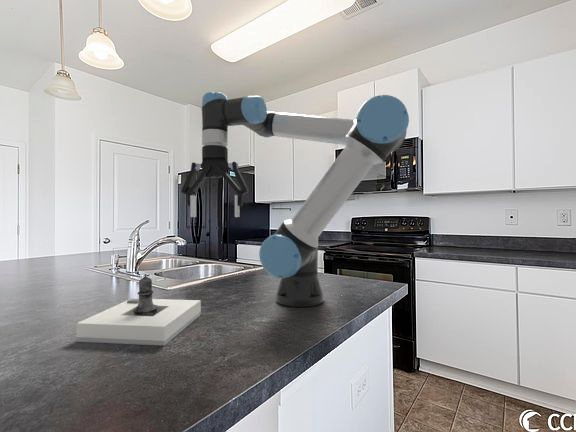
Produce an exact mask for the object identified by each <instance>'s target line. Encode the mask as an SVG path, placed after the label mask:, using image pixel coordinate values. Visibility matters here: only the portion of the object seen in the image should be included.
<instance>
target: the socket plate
mask: <svg viewBox="0 0 576 432" xmlns="http://www.w3.org/2000/svg"><path fill="white" fill-rule="evenodd" d="M152 302H153V304H154V305H157V306H158V309H157V312H156V314H155V315H154V316H135V315H134V312H133V311H132V309H133V308H135V307H137V306H138V303H139V298H135V297H133V298H130V299H128V300H125V301H123V302H121V303H118V304H116V305H114V306H112V307H109V308H108V309H105V310H103V311H100V312H99V313H96V314H94V315H91V316H89V317H87V318H84V319H83V320H81V321H79V322H77V323H76V342H77V343H78V342H80V343H81V342H82V343H97V344H98V343H100V344H121V345H140V346H141V345H143V346H146V345H147V346H166V345H168V343H169V342H171V341H173V339H174V338H176V336H178V335H179V334H180V333H181V332H182V331H184V330H185V329H186V328H187V327H188V326H190V325H191V324H192V323H193V322H194V321H196V320H197V318H199V317H200V316H201V314H202V309H201V308H202V306H201V305H202V300H201V299H200V300H199V299H197V300H196V299H166V298H161V299H160V298H159V299H158V298H152Z"/></svg>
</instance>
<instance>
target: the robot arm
mask: <svg viewBox="0 0 576 432" xmlns="http://www.w3.org/2000/svg"><path fill="white" fill-rule="evenodd" d="M201 104H202V105H201V117H202V119H201V120H202V121H201V123H202V127H201V128H202V129H201V130H202V131H201V145H202V147H201V163H196V162H195V161H194V162H192V163H191V166H190V170H189V172H188V175H187V177H186V179H185V182H184V184H183V186H182V188H181V191H180V192H181V193H182V194H185V195H186V196H187V206H189V208H190V216H189V217H190V218H197V195H195V194H196V193H197V191H198V190H199V189H200V187H202V185H203V184H204V183H205V181H207V179H210V178H211V179H214V178H218V179H221V178H223V179H224V180H225V181H226V182H227V183H228V184H229V186H231V188H232V189H233V191H234V192H235V193H236V194H234V217H235V218H240V207H242V206H243V204H244V202H243V200H244V199H243V198H244V195H246V194H248V193H249V192H250V190H249V188H248V186H247V184H246V182H245V180H244V178H243V176H242V173H241V172H240V169H239V163H238V162H236V161H232V162H229V160H228V159H229V157H228V154H229V149H228V144H229V143H228V142H229V141H228V138H229V137H228V135H229V134H228V132H229V129H228V127H233V126H244V127H245V128H247V129H249V130H251V131H252V132H254V133H256V135H258V136H260V137H263V138H271V137H279V138H280V137H281V138H287V139H295V140H302V141H311V142H318V143H326V144H335V145H342V146H345V147H344V148H343V150H342V151H341V152H340V153H339V155H338V156H337V157H336V159H335V160H334V162H333V163H332V164H331V166H329V168H328V170H327V171H326V173H325V174H324V175H323V177H322V178H321V179H320V180H319V182H318V183H317V184H316V186H315V188H314V189H313V190H312V192H311V193H310V194H309V196H308V197H307V198H306V199H305V201H304V202H303V204H302V205H301V206H300V208H299V209H298V211H296V213H295V214H294V216H293V217H292V218H290V219H284V221H283V222H281V224H280V226H279V227H278V229H276V231H275V233H273V234H272V235H270V236H267V238H266V239H264V241H263V242H262V243H261V246H260V248H259V252H258V253H259V254H258V255H259V261H260V265H261V267H262V268H263V270H264V271H265V272H266V273H267V274H269V275H270V276H272V277H274V278H278V279H279V282H278V286H277V288H276V289H277V290H276V292H275V301H276V303H277V304H280V305H282V306H287V307H294V308H296V307H297V308H299V307H300V308H306V307H307V308H308V307H314V306H317V305H320V304H322V303H323V302H324V292H323V289H322V286H321V283H320V280H319V276H318V271H319V270H318V269H319V268H318V266H319V261H318V260H319V259H318V257H319V256H318V255H319V237H320V236H321V234H322V233H323V232H324V230H325V229H326V228H327V226H328V225H329V224H330V222H331V221H332V220H333V218H334V217H335V215H337V214H338V212H339V211H340V209H341V208H342V206H343V205H344V204H345V202H346V201H347V200H348V199H349V198H350V196H351V195H352V193H353V192H354V191H355V190H356V189H357V187H358V186H359V185H360V183H361V182H362V181H363V179H364V178H365V177H366V175H367V174H368V173H369V171H370V170H371V169H372V167H373V166H375V165H379V164H383V163H385V162H384V161H385V160H386V159H387V158H388V156H389V155H390V154H391V153H393V152H395V151H397V150H398V149H399V148H400V147H401V146H402V144H403V143H404V141H405V139H406V137H407V130H408V127H409V122H410V120H409V119H410V118H409V113H408V110H407V108H406V105H405V104H404V103H403V102H402V101H401V100H400V98H399V99H398V98H397V97H396V96H393V95H389V94H380V95H379V94H378V95H376V96H373V97H370V98H369V99H368V100H366V101H364V103H363V104H361V106H360V108H359V109H358V112H357V113H356V118H355V119H349V118H337V117H328V116H320V115H319V116H317V115H308V114H307V115H306V114H297V113H289V112H276V111H268V108H267V104H266V102H265V99H264V98H263V97H262V96H260V95H247V96H241V97H237V98H228V97H227V95H226V94H224V93H222V92H218V91H215V92H214V91H210V92H209V91H208V92H206V93H204V94H203V96H202V103H201ZM229 168H230V170H232V171H233V174H234V175H235V177H236V179H237V180H236V181H237V182H238V183H239V186H240V187H239V186H238V184H237V183H236V182H235V181H234V179H232V178H231V176H230V175H229V173H228V172H227V171H228V170H229ZM200 170H202V172H201V173H200V174H199V177H198V178H197V179H196V176H197V174H198V172H199V171H200ZM195 179H196V180H195ZM194 181H195V182H194Z"/></svg>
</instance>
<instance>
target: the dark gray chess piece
mask: <svg viewBox="0 0 576 432" xmlns="http://www.w3.org/2000/svg"><path fill="white" fill-rule="evenodd" d="M152 282H153V281H152V279H151V277H148V276H147V274H146V273H144V276H143V277H142V278H140V279H139V281H138V292H137V295H138V299H139V303H138V306H137V307H135V308H133V309H132V311H133V312H134V315H135V316H154V315H155V314H156V312H157V309H158V306H157V305H154V304H153V302H152V299H153V294H154V291H153V283H152Z"/></svg>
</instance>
